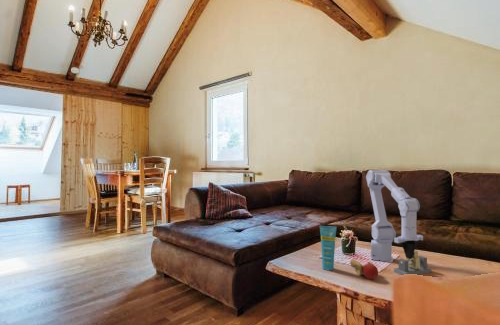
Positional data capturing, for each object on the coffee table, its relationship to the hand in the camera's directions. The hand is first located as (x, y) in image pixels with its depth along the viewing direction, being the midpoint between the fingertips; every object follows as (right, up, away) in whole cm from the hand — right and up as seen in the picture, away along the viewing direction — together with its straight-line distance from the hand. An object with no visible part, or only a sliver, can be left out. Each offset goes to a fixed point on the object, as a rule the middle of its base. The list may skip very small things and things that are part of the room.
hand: (408, 257), depth 126 cm
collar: (+2, -4, +1) cm, 5 cm away
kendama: (-20, -7, 0) cm, 21 cm away
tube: (-34, -7, +5) cm, 35 cm away
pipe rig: (+2, -6, +1) cm, 7 cm away
